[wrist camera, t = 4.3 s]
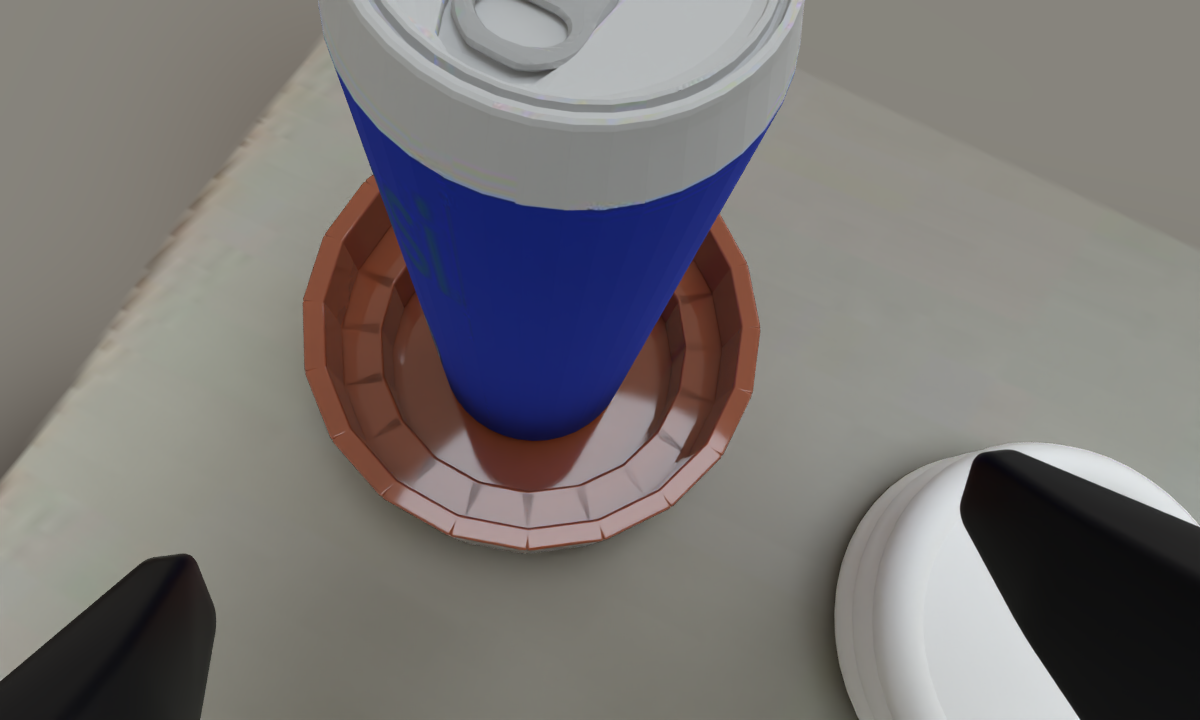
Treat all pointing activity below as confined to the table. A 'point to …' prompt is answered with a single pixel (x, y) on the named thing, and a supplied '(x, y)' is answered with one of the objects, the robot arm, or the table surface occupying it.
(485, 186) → the beverage can
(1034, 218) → the table surface
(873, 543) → the coaster
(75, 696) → the robot arm
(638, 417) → the bowl
